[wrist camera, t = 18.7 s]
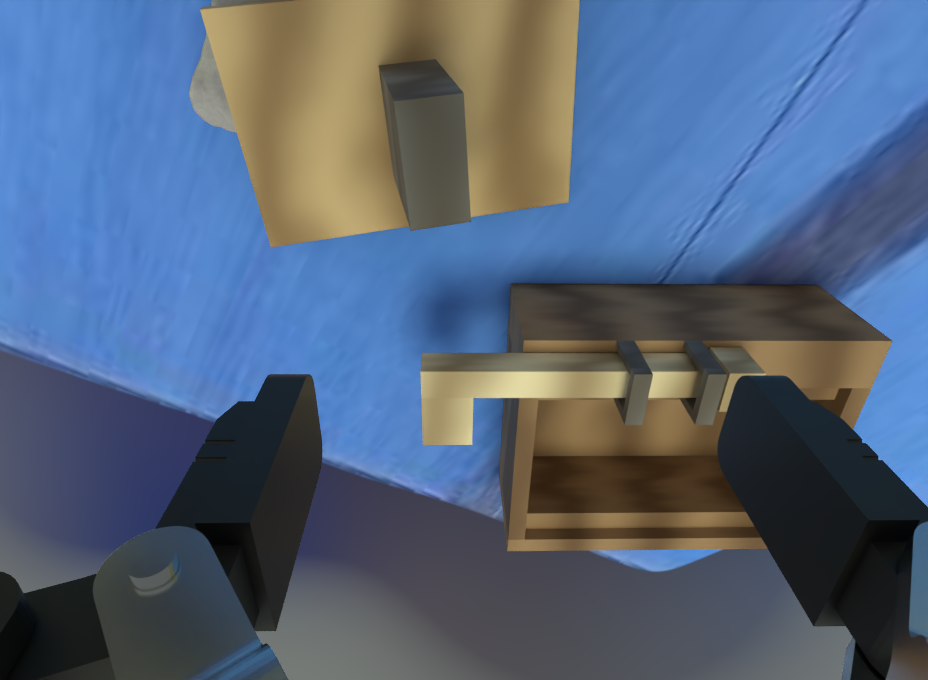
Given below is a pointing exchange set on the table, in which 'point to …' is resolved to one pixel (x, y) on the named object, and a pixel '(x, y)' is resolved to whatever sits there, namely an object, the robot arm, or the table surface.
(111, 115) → the table surface
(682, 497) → the wooden box
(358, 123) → the lid
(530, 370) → the yellow latch bar
